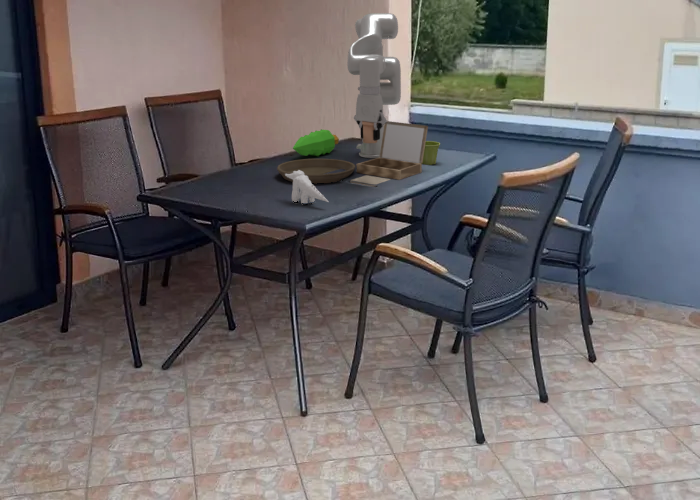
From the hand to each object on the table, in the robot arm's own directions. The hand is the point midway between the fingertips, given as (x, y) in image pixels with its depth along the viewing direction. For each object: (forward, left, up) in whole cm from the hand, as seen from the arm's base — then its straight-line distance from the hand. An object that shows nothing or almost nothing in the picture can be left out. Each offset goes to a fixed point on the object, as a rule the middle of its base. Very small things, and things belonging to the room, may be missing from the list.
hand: (370, 138), depth 332 cm
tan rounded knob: (0, 0, -1) cm, 1 cm away
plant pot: (0, +40, -17) cm, 44 cm away
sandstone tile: (0, 0, -17) cm, 17 cm away
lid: (-2, +23, -5) cm, 24 cm away
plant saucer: (-24, -4, -17) cm, 30 cm away
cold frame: (-2, +14, -17) cm, 22 cm away
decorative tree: (-50, +24, -17) cm, 58 cm away
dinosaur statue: (+1, -38, -17) cm, 42 cm away
